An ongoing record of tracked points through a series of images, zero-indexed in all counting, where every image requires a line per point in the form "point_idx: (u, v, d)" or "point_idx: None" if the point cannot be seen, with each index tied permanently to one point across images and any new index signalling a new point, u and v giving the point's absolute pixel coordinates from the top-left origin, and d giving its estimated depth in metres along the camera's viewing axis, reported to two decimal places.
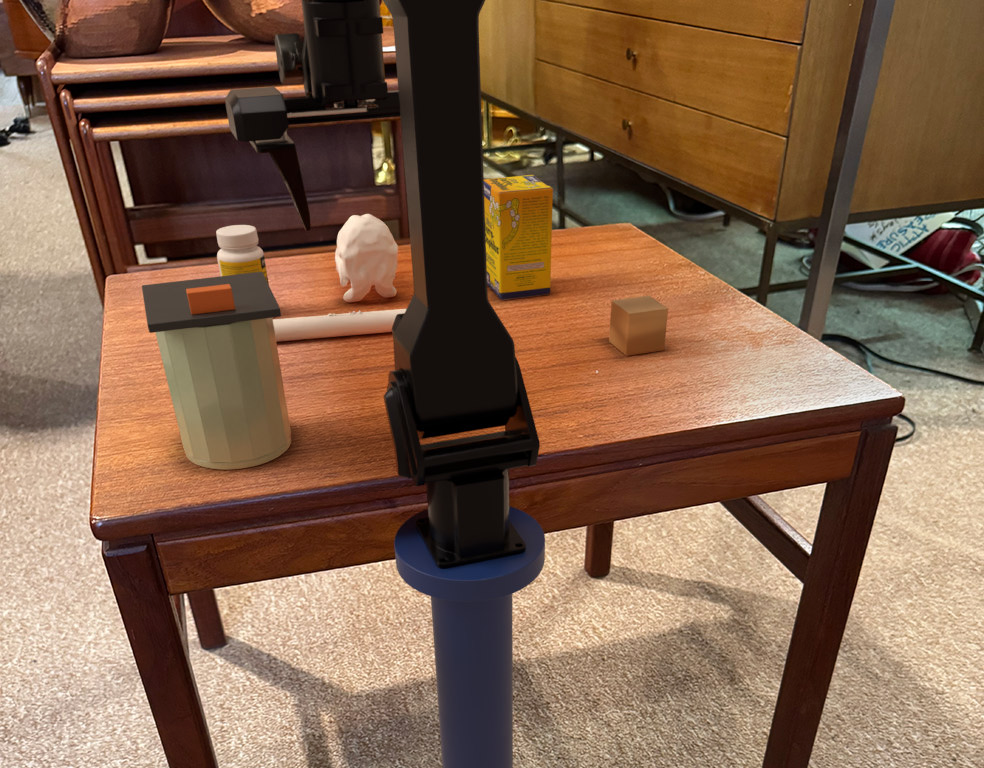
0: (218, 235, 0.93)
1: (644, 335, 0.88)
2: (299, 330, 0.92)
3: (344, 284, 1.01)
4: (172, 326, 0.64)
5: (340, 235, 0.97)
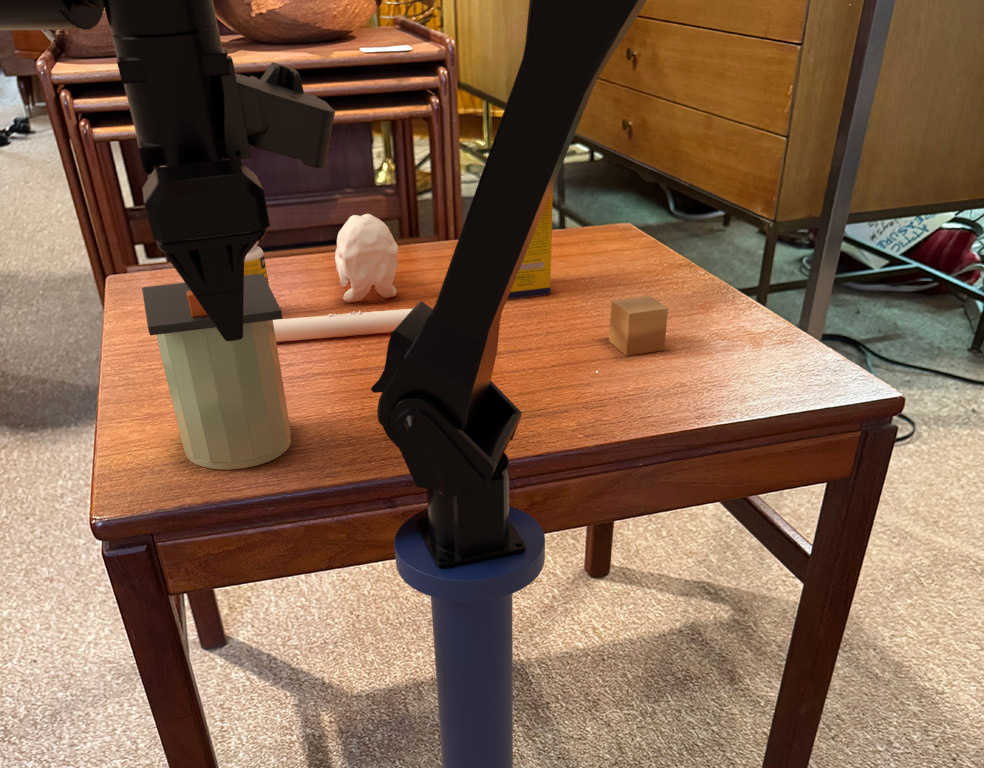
0: None
1: (644, 335, 0.88)
2: (299, 330, 0.92)
3: (344, 284, 1.01)
4: (173, 329, 0.63)
5: (340, 235, 0.97)
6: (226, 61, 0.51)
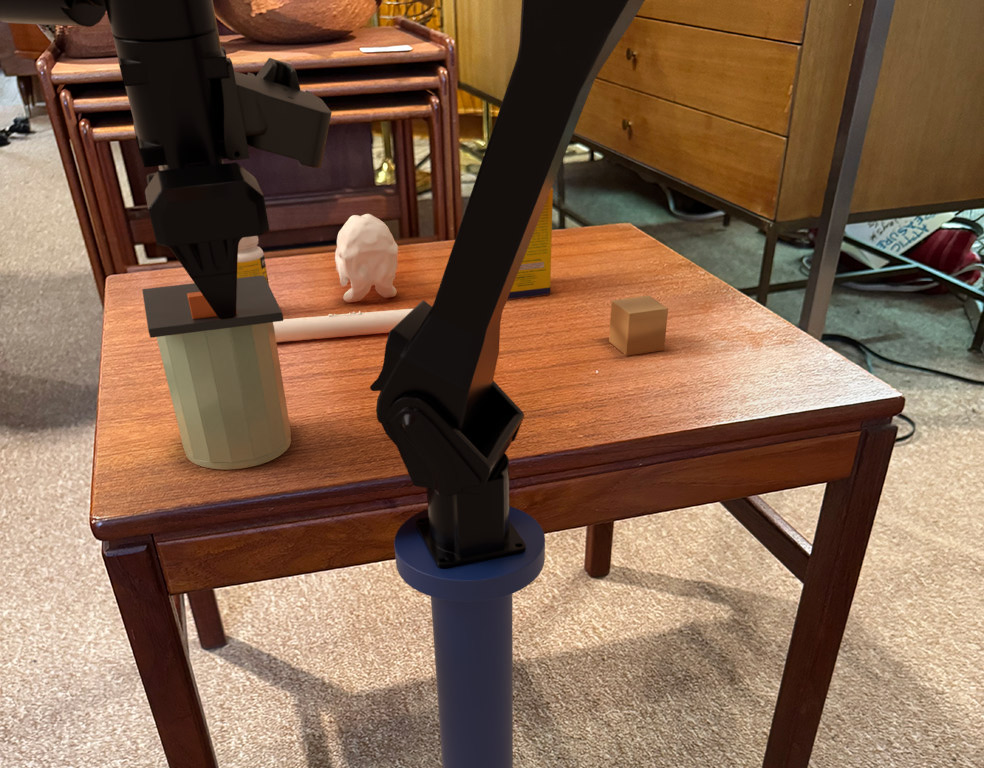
0: None
1: (644, 335, 0.88)
2: (299, 331, 0.92)
3: (344, 284, 1.01)
4: (173, 331, 0.63)
5: (340, 235, 0.97)
6: (226, 64, 0.52)
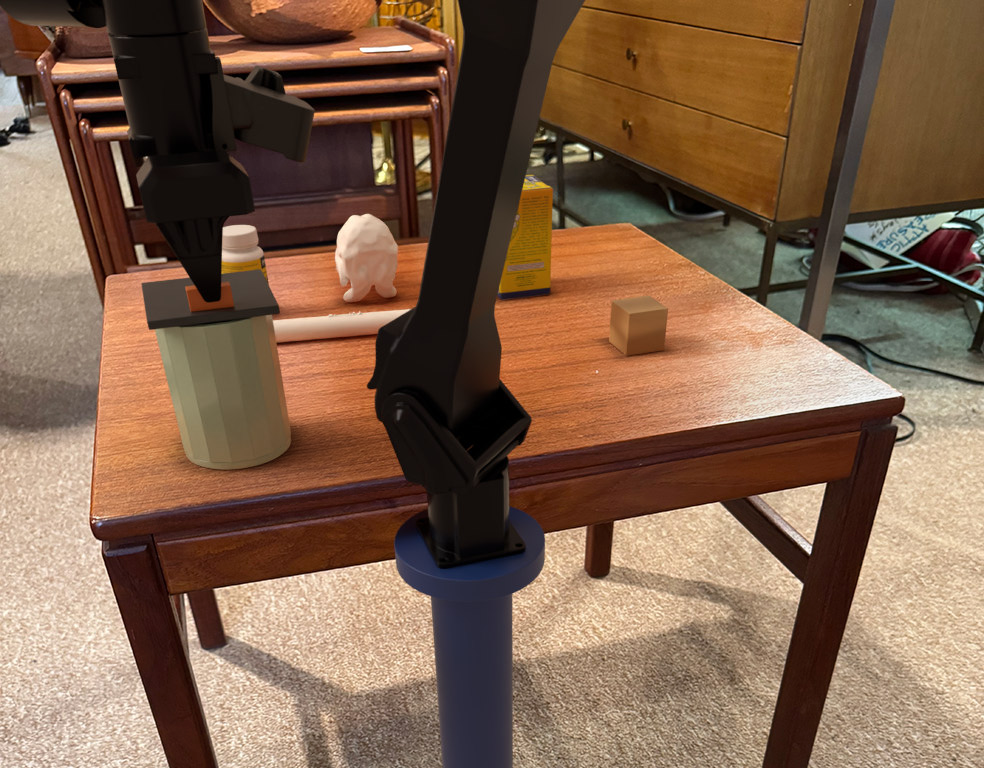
0: None
1: (644, 335, 0.88)
2: (299, 331, 0.91)
3: (344, 284, 1.01)
4: (171, 323, 0.64)
5: (340, 235, 0.97)
6: (215, 61, 0.55)
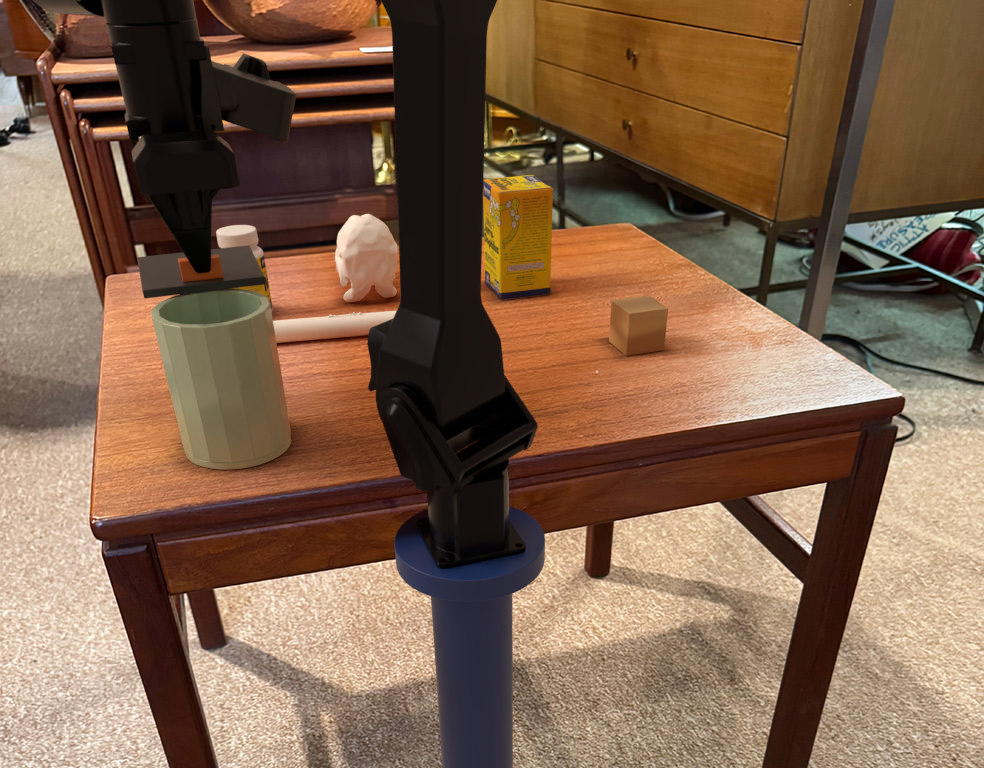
0: (218, 235, 0.93)
1: (644, 335, 0.88)
2: (299, 331, 0.91)
3: (344, 284, 1.01)
4: (165, 292, 0.69)
5: (340, 235, 0.97)
6: (203, 48, 0.61)
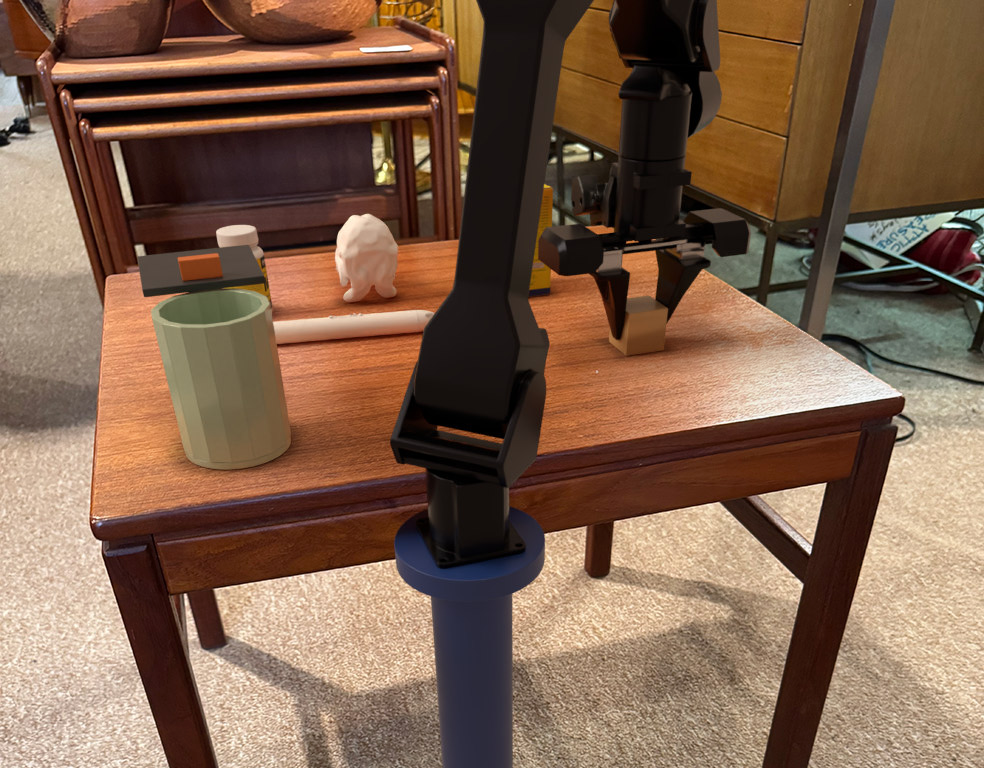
0: (218, 235, 0.93)
1: (643, 335, 0.88)
2: (299, 332, 0.91)
3: (344, 284, 1.01)
4: (165, 291, 0.70)
5: (340, 235, 0.97)
6: None
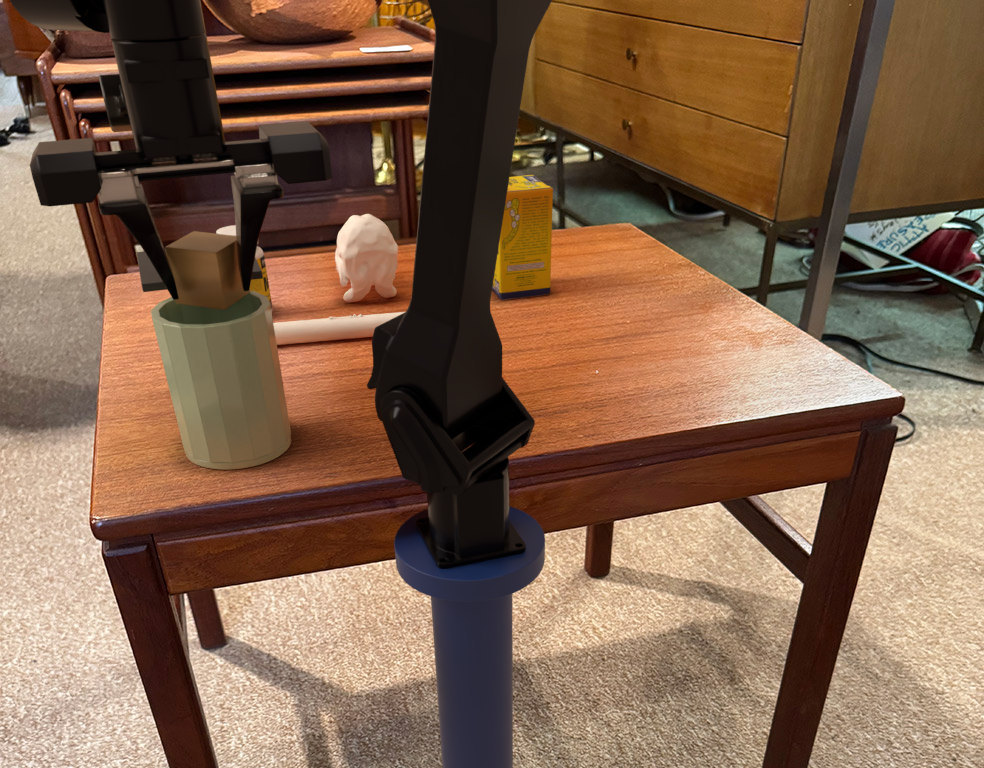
0: None
1: (192, 282, 0.67)
2: (299, 333, 0.91)
3: (344, 284, 1.01)
4: (164, 286, 0.71)
5: (340, 235, 0.97)
6: None
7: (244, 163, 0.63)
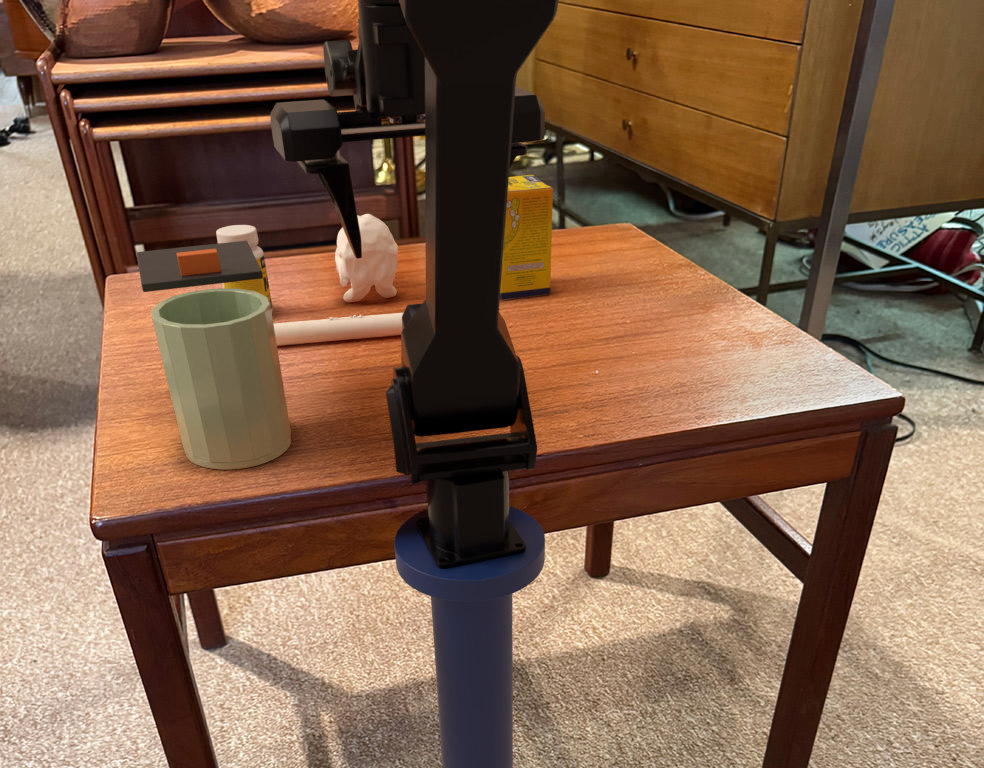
0: (218, 235, 0.93)
1: None
2: (300, 334, 0.91)
3: (344, 284, 1.01)
4: (164, 286, 0.71)
5: (340, 235, 0.97)
6: None
7: None
